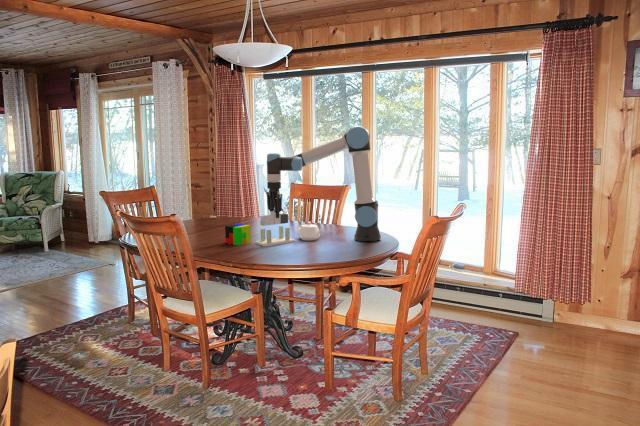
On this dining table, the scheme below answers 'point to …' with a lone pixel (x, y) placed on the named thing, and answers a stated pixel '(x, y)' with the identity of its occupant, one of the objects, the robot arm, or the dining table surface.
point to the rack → (276, 240)
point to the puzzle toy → (238, 234)
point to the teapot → (309, 231)
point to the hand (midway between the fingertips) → (274, 223)
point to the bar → (270, 219)
